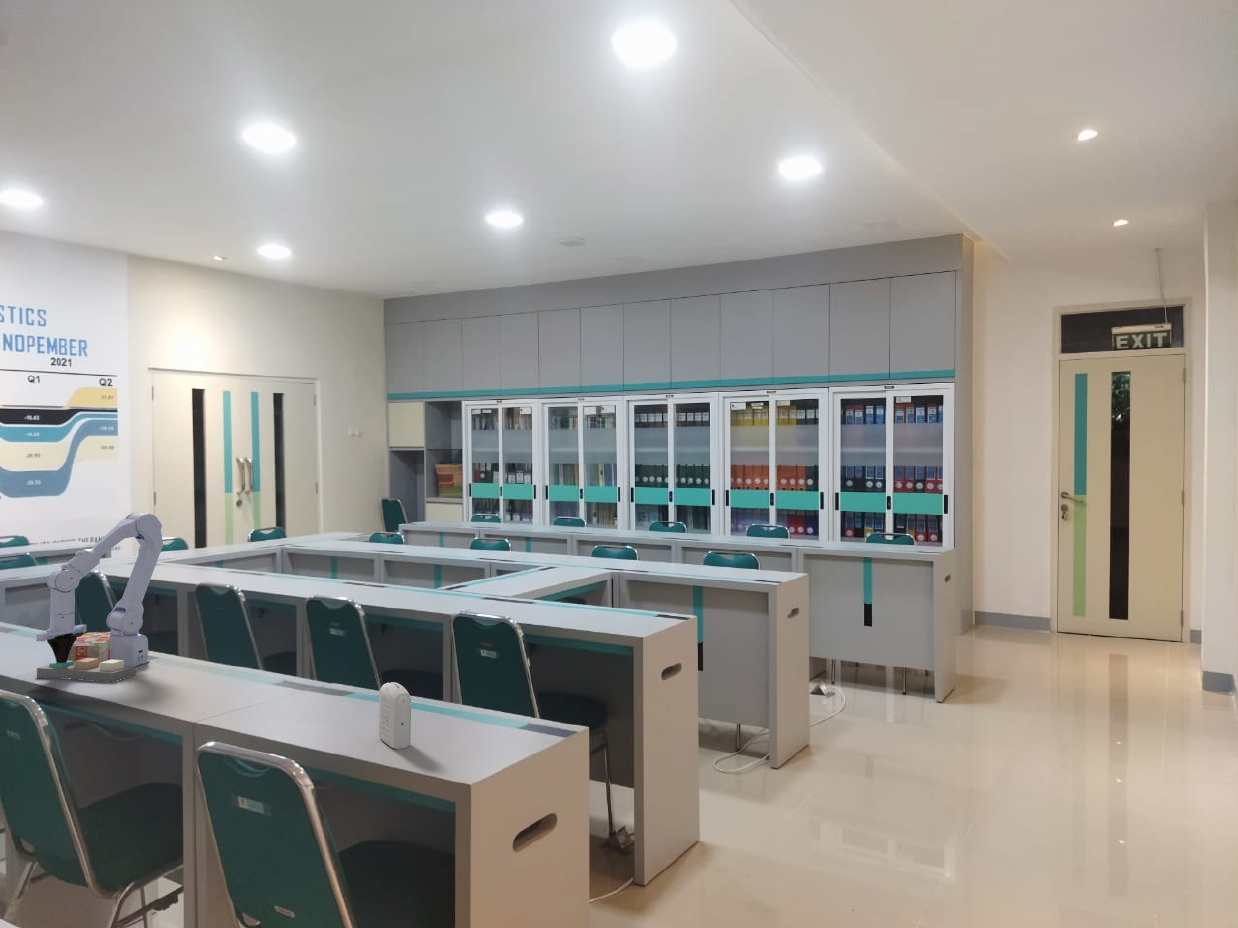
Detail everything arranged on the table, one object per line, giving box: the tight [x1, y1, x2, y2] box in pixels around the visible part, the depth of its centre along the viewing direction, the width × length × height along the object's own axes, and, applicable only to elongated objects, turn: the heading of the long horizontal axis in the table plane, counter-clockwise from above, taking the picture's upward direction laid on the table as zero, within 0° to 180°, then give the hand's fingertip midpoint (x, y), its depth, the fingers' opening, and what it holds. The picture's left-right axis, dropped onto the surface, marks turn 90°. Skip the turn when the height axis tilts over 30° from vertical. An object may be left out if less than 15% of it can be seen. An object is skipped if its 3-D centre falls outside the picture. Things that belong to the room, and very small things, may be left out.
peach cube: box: [74, 658, 99, 669], centre depth 231 cm, size 4×4×4 cm
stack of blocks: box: [67, 631, 111, 664], centre depth 252 cm, size 21×6×12 cm
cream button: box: [100, 659, 124, 671], centre depth 229 cm, size 4×4×4 cm
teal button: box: [48, 661, 74, 668], centre depth 232 cm, size 4×4×4 cm
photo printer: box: [378, 682, 412, 750], centre depth 178 cm, size 10×4×12 cm, turn 35°
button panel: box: [36, 662, 137, 683], centre depth 231 cm, size 24×8×2 cm, turn 79°
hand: (61, 662), depth 232 cm, fingers closed, pressing on teal button
